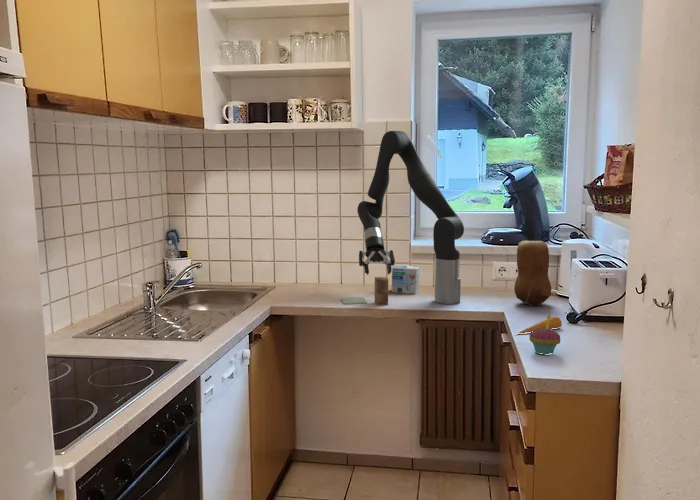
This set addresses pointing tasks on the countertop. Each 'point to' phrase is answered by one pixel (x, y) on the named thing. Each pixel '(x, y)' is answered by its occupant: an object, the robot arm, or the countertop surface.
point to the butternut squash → (532, 272)
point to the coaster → (354, 300)
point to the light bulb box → (405, 279)
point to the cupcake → (545, 339)
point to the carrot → (553, 323)
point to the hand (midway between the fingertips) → (378, 273)
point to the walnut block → (381, 290)
